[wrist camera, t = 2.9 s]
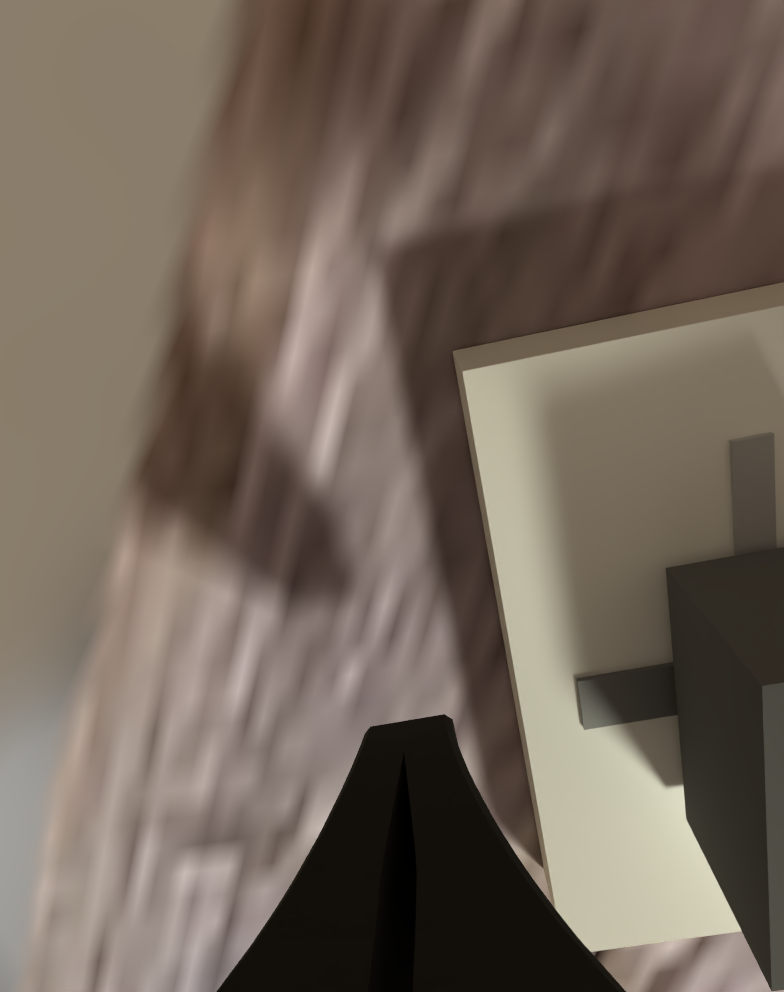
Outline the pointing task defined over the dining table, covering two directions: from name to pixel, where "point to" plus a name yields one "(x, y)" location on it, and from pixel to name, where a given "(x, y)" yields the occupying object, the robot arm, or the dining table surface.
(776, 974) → the fader knob
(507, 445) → the fader console
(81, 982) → the dining table surface
